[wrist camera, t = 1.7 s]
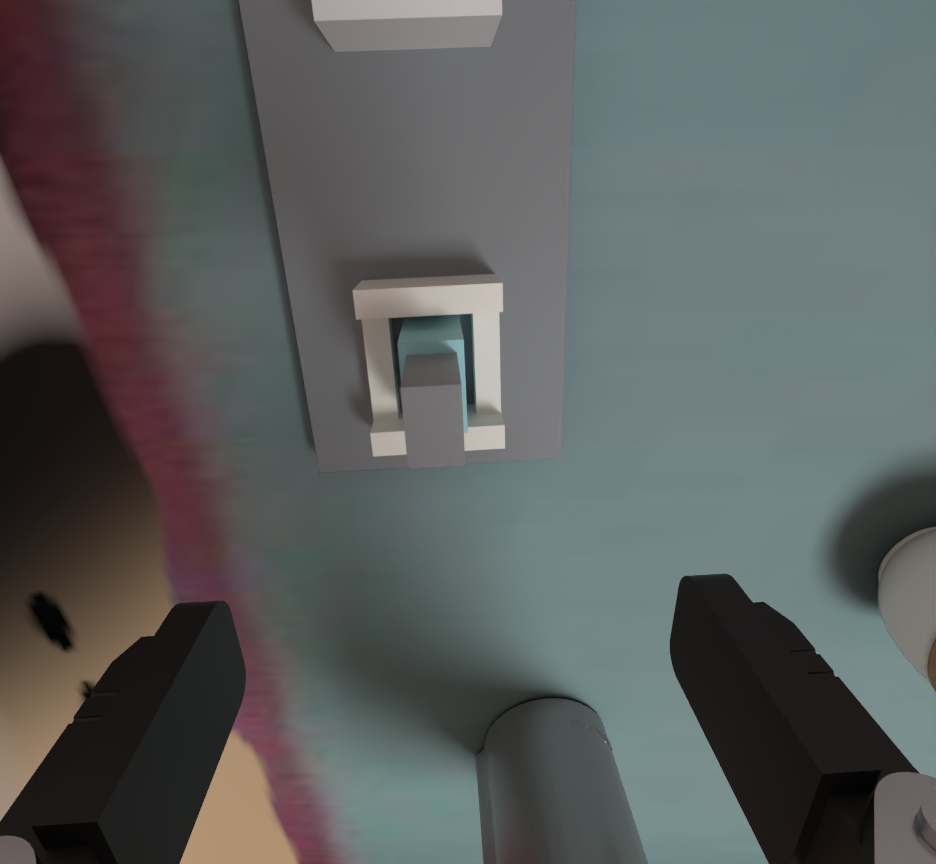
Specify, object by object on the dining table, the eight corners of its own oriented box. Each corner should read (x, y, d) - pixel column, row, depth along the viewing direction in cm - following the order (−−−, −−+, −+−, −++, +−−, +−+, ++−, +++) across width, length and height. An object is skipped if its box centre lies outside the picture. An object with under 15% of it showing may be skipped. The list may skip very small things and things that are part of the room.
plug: (462, 393, 27) (474, 477, 19) (410, 396, 27) (400, 482, 19) (458, 314, 26) (469, 369, 17) (403, 317, 26) (389, 373, 17)
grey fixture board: (553, 442, 31) (579, 495, 25) (326, 456, 30) (302, 513, 25) (571, -251, 20) (625, -426, 14) (212, -246, 19) (122, -425, 14)
